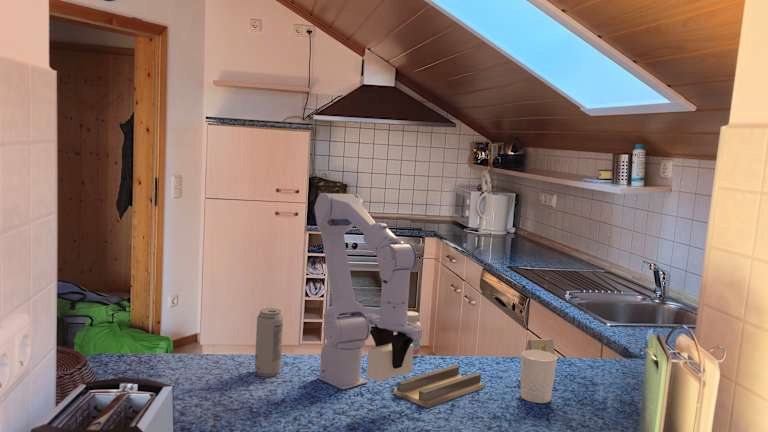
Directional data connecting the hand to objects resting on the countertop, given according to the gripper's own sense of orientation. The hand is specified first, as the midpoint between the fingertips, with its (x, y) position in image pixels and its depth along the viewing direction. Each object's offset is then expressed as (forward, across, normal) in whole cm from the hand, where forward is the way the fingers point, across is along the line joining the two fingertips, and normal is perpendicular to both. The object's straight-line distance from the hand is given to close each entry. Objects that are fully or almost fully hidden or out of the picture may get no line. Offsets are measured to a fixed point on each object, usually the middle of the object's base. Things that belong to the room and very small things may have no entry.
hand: (390, 364), depth 136 cm
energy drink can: (+10, -32, -8) cm, 34 cm away
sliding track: (+9, 0, +17) cm, 19 cm away
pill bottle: (+10, -23, +31) cm, 40 cm away
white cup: (+10, +16, +32) cm, 37 cm away
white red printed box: (+10, +9, +44) cm, 46 cm away
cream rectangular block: (+2, 0, 0) cm, 2 cm away
